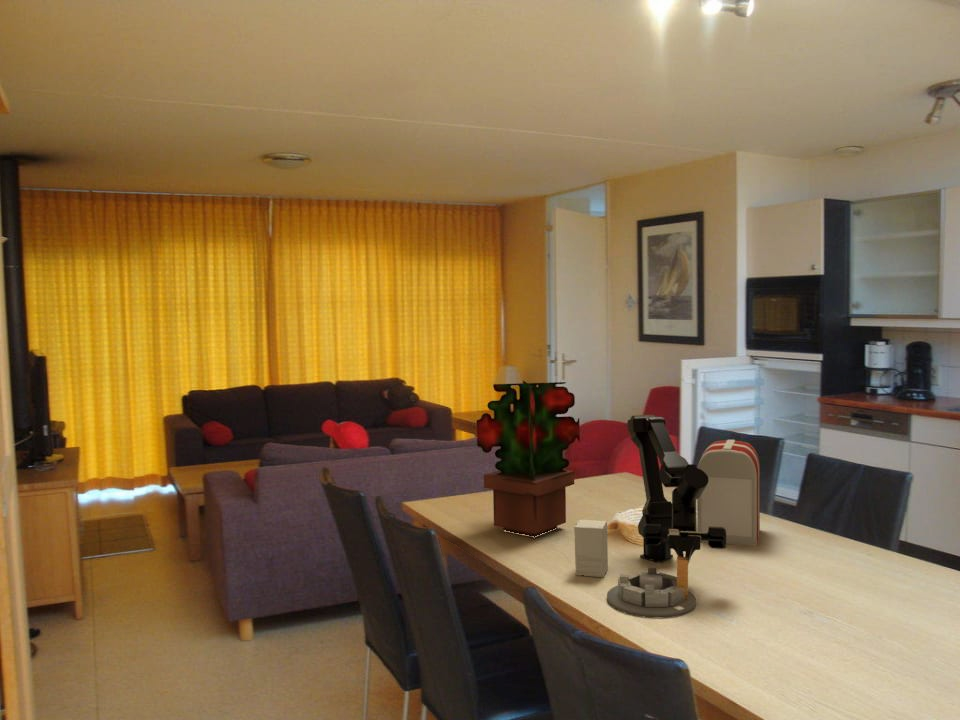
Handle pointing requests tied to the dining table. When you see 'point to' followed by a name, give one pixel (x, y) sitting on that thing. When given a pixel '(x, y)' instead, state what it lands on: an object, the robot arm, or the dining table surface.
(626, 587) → the grey stone ring wall
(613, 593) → the grey stone circle model
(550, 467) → the potted plant
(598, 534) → the supplement box
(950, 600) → the dining table surface
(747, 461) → the red-striped tombstone block
